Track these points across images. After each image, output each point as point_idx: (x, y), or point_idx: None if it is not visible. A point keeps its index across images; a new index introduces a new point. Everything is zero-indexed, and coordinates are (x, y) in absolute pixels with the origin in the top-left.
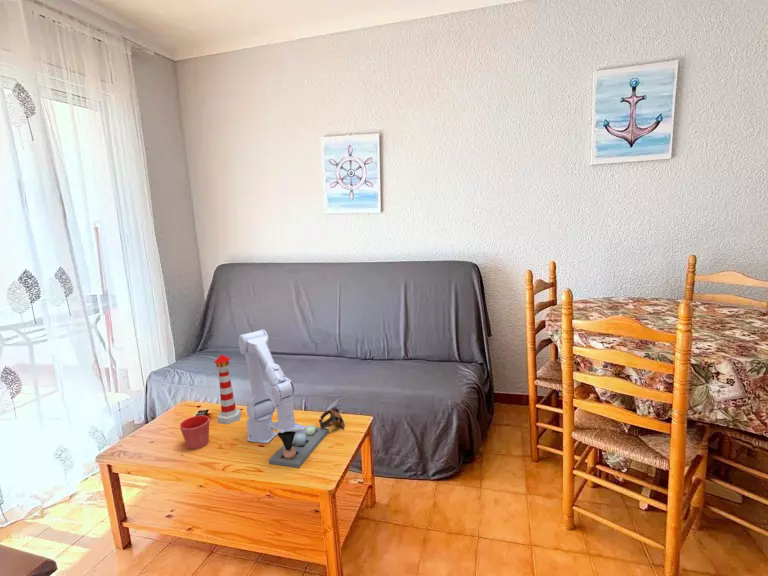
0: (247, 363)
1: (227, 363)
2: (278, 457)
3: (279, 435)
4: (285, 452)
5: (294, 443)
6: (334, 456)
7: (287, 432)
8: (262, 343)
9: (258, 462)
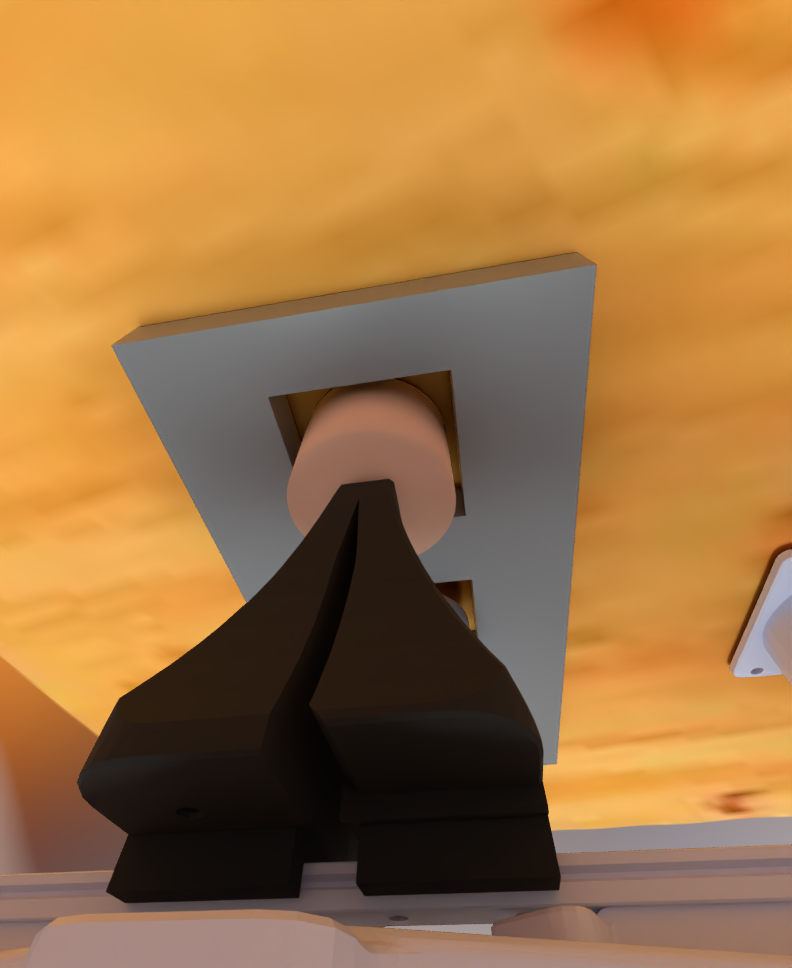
0: None
1: None
2: (480, 371)
3: (429, 698)
4: (373, 440)
5: (456, 612)
6: (35, 585)
7: (266, 823)
8: None
9: (756, 217)
